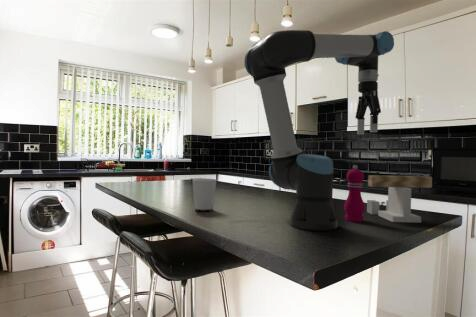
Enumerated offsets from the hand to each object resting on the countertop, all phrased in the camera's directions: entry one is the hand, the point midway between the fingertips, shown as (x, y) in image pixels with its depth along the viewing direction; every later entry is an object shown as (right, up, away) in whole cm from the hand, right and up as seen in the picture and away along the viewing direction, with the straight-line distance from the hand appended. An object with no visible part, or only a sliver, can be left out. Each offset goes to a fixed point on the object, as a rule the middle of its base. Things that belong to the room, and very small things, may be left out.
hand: (366, 133), depth 133 cm
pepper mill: (-12, -33, -18) cm, 39 cm away
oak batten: (+7, -21, -14) cm, 26 cm away
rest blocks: (+5, -33, -3) cm, 33 cm away
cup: (-68, -32, -2) cm, 75 cm away
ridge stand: (+6, -33, -14) cm, 36 cm away
